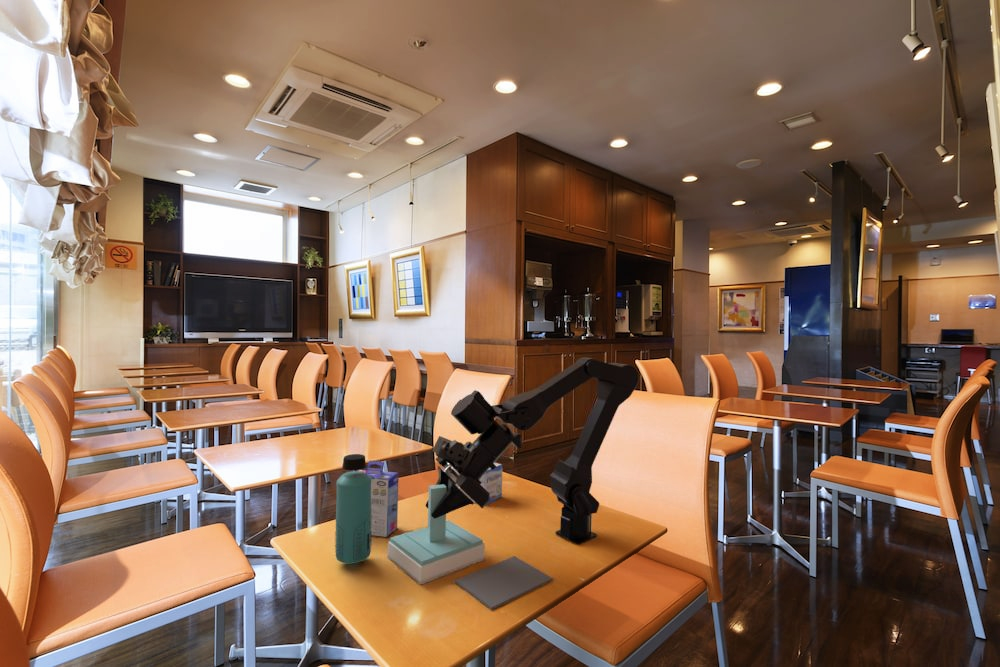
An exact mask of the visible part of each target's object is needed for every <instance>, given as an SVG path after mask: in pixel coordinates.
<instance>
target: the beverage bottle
mask: <svg viewBox="0 0 1000 667" xmlns="http://www.w3.org/2000/svg"><path fill="white" fill-rule="evenodd" d="M366 462H367V461H366V456H365V455H364V454H361V453H360V454H359V453H352V454H347V455H344V456H343V461H342V470H345V471H346V472H344V473H343V474H342V475H340V477H338V478H337V480H336V482H335V484H336V505H335V506H336V508H335V513H334V514H335V525H334V526H335V532H334V533H335V547H334V550H335V557H336V560H337V561H339V563H342V564H343V563H344V564H357V563H360V562H363V561H365V560H367V559H368V558H369V557H370V555H371V553H372V547H373V541H372V540H373V539H372V538H373V535H372V534H371V532H372V531H371V527H372V526H371V525H372V524H371V522H372V521H371V520H372V519H371V515H372V514H371V501H372V500H371V482H372V479H371V477H370V476H369V475H368V474H367V473H365V472H362V471H358V470H364V469H365V468H367V463H366Z"/></svg>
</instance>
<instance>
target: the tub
mask: <svg viewBox="0 0 1000 667" xmlns="http://www.w3.org/2000/svg"><path fill="white" fill-rule="evenodd" d="M485 545H486V544H485V543H483V544H481V545H479V546H476V547H473V548H470V549H468V550H465V551H462V552H459V553H457V554H454V555H451V556H448V557H446V558H443V559H440V560H437V561H435V562H432V563H429V564H426V565H424V566H420V565H419V564H418V563H417V562H415V561H414V560H413V559H411V558H410V557H409V556H407V555H406V554H405V553H404V552H402V551H401V550H400V549H398V548H397V547H396V546H395V545H393V544H392V543H391V542H390V540H389V541H387V559H389V561H391V562H392V563H393V562H394V563H393V564H395V565H396V566H397V567H398V568H399V569H401V570H402V571H403V572H404V573H405V574H407V575H408V576H409V577H410V578H411V579H413V580H414V581H415V582H416V583H417V582H418V584H419V586H421V584H422V585H424V584H426V582H427V583H430V582H432V581H434V580H436V579H439V578H441V577H444V576H447V575H449V574H452V573H455V572H457V571H460V570H461V569H464V567H465V568H468V567H470V566H472V565H471V564H473V565H475V564H478V563H479V562H483V561H485V554H486V553H485V552H486V551H485V548H486V546H485ZM477 562H478V563H477ZM474 563H475V564H474ZM469 565H470V566H469ZM467 566H468V567H467ZM454 571H455V572H454Z"/></svg>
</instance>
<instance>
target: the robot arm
mask: <svg viewBox="0 0 1000 667" xmlns="http://www.w3.org/2000/svg"><path fill="white" fill-rule="evenodd" d="M590 379H594V380H597V383H596V384H597V385H596V388H597V396H596V400H595V402H594V404H593V407H592V408H591V411H590V413H589V415H588V417H587V419H586V422H585V424H584V426H583V428H582V430H581V433H580V434H579V437H578V439H577V441H576V444H575V446H574V448H573V451H572V452H571V454H570V456H569V457H568V458H567V459H565V460H564V461H563V460H561V459H558V460H557V461H556V463H555V467H554V470H553V471H552V473H551V474H550V475H549V477H550V478H551V479H550V483H549V484H550V485H549V486H550V488H551V491H552V493H553V494H554V495H555V496H556V499H557V501H558V502H559V503H561V504H562V505H563V507H561V516H560V523H559V524H560V529H557V530H556V531H555V535H557V536H559V537H560V538H562V539H565V540H567V541H569V542H571V543H573V544H575V545H581V544H582V543H586V542H588V541H590V540H592V539H594V538H597V536H598V534H597V533H596V532H593V531H592V517H593V516H592V515H593V514H597V513H598V510H599V507H600V502H599V501H598V499H596V498H595V497H594V496H593V495H592V493H590V491H591V487H592V484H593V471H592V470H593V469H592V468H593V465H594V462H595V461H596V458H597V456H598V454H599V451H600V449H601V446H602V444H603V442H604V440H605V438H606V435H607V433H608V431H609V428H610V427H611V424H612V421H613V420H614V417H615V416H616V413H617V411H618V408H619V406H621V405H622V404H623V403H624V402H625V401H627V400H628V399H629V398H630V397H631V396H632V394H633V393H634V392H635V390H636V388H637V386H638V384H639V382H640V376H639V374H638V371H637V369H636V367H634V366H633V365H630V364H624V363H617V362H608V363H607V362H604V361H600V360H597V359H596V358H592V357H580V358H578V359H577V360H576V361H575V362H574V363H572V364H571V365H570V366H568V367H566V368H565V369H563V370H562V371H560V372H559V373H558V374H555V375H554V376H553V377H551V378H549V379H548V380H547V381H545V382H544V383H542V384H541V385H539V386H538V387H536V388H534V389H532V390H529V391H528V390H527V391H524V392H520V393H519V394H516V395H514V396H511V397H509V398H507V399H506V400H504V401H503V402H502V403H500V404H494V405H491V404H490V403H489V402H488V401H487V400H486V398H485V397H484V396H483V394H482V393H481V392H480V391H478V390H475V389H474V390H473V391H472V393H470V394H467V395H465V396H464V397H463V398H462V399H459V400H458V401H457V403H455V405H454V406H453V407H452V409H451V411H450V412H451V413H450V414H451V416H452V417H453V418H454V419H455V420H456V421H457V422H458V423H459V424H460V425H461V426H462V427H463V428H464V429H465V430H466V431H467V432H468V433H469V434H470V435H476V434H477V435H478V436H477V437H476V439H474V441H473V442H471V441H466V442H465V444H464V443H463V442H461V441H460V442H459V441H457V440H456V439H454V440H451V439H448V438H446V437H444V436H440V435H439V436H438V437H437V440H436V442H435V444H434V446H433V449H432V453H434V454H435V456H436V458H435V459H434V460H435V461H436V463H438V464H439V465H440V466H441V467H440V466H437V470H438V479H437V482H436V483H435V485H442V484H444V485H445V486H446V487H447V489H446V494H445V495H444V496H443V498H442V499H441V500H440V502H439V503H438V505H437V506H436V507H435V509H434V510H433V512H432V514H431V516H432V517H433V518H434V519H436V518H438V517H440V516H443V515H445V514H446V515H448V514H449V513H451V512H453V511H456V510H458V509H461V508H464V507H467V506H469V505H472V506H473V505H474V504H476V505H478V506H479V508H481V509H484V507H486V506H487V505H486V504H487V503H488V502H489V499H490V493H489V492H488V491H487V490H486V489H485V488H483V487H482V486H481V485H480V484H481V483H482V482H481V481H480V480H479V479H480V478H481V477H482V476H483V475H484V474H485V472H486V471H487V470H488V469H489V468H491V469H492V470H494V468H495V467H496V465H495V464H494V463H496V462H497V460H498V459H499V458H500V457H501V456H502V454H503V453H504V452H505V451H506V450H507V449H508V448H509V446H510V445H513V446H514V447H516V448H517V449H521V448H523V447H522V440H521V439H522V434H521V433H519V432H513V430H512V429H510V427H513V428H515V429H517V430H520V431H528V430H530V429H532V428H533V427H534V426H535V425H536V424H537V423H538V422H539V421H541V419H542V418H543V417H544V416H545V414H546V412H547V410H548V409H549V408H550V407H551V406H552V405H554V404H555V403H557V402H558V401H560V400H561V399H563V398H564V397H565V396H567V395H568V394H570V393H571V392H573V391H574V390H575V389H577V388H578V387H580V386H582V385H583V384H585V383H586V382H587V381H589V380H590ZM495 419H496V420H497V419H498V420H499V421H500V422H503V423H502V424H500V423H498V422H497V421H496V420H495ZM508 426H510V427H508ZM472 499H473V500H474V501H475V502H476V503H474V502H473V501H472ZM485 505H486V506H485ZM425 507H426V508H427V509H428V500H427V501H426V503H425Z"/></svg>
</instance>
